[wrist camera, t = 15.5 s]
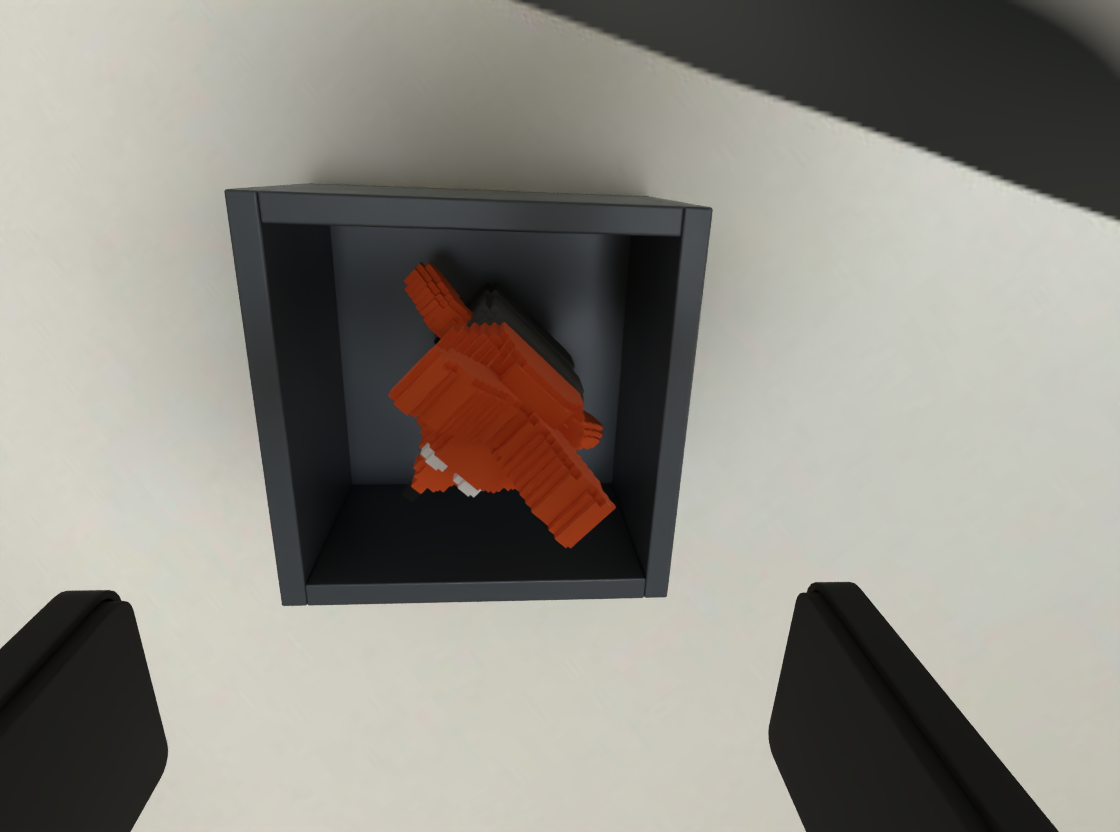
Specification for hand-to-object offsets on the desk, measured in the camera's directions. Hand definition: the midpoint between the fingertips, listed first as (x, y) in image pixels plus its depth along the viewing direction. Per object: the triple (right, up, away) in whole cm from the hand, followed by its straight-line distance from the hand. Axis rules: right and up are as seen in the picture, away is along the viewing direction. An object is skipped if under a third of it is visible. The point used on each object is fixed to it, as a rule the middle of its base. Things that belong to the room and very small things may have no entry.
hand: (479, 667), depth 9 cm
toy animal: (-2, +6, +16) cm, 17 cm away
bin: (-2, +6, +17) cm, 18 cm away
